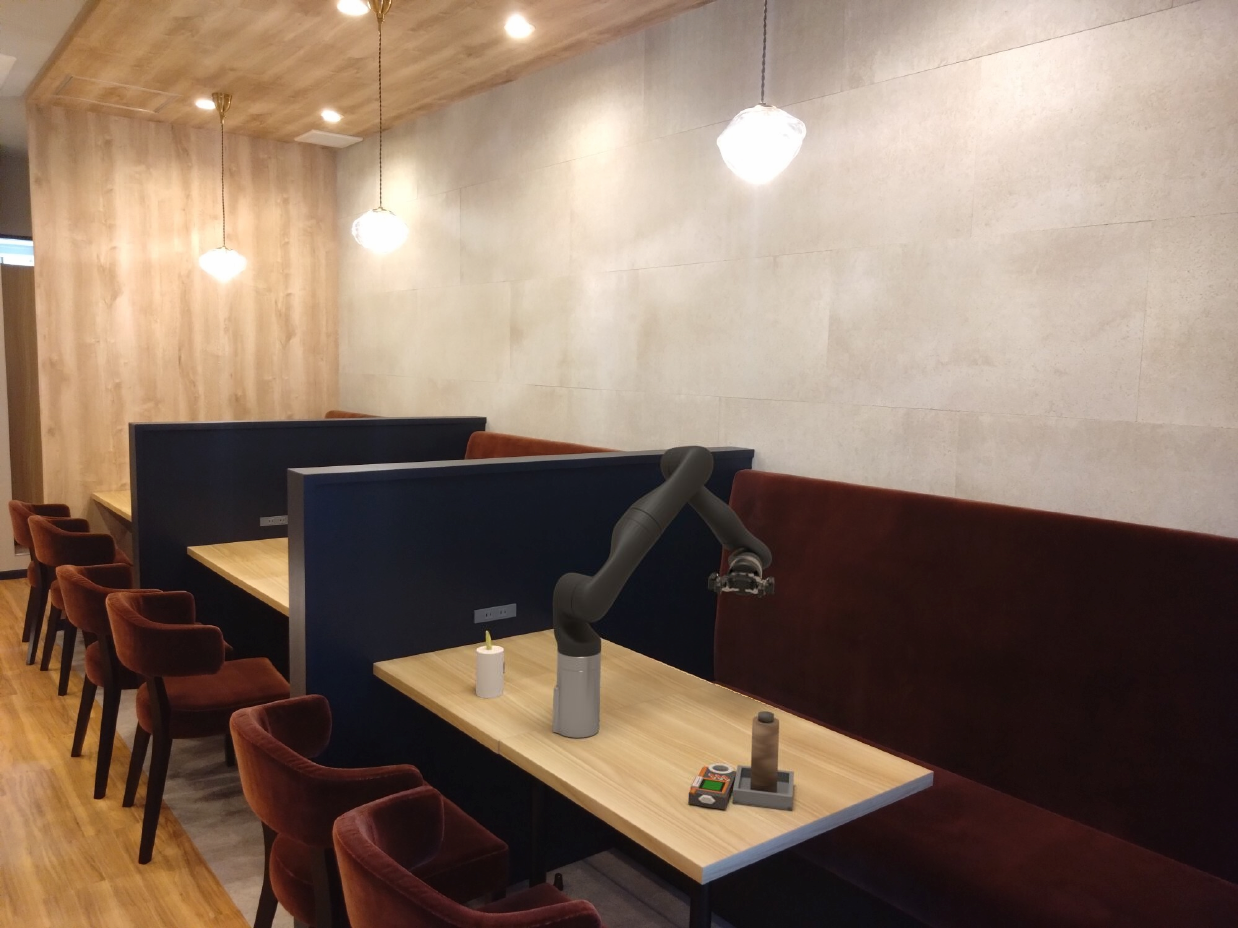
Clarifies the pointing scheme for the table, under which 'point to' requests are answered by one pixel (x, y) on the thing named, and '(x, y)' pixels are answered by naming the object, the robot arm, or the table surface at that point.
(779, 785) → the tray
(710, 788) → the electronic device
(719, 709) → the table surface
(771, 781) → the pepper mill
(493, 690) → the candle
